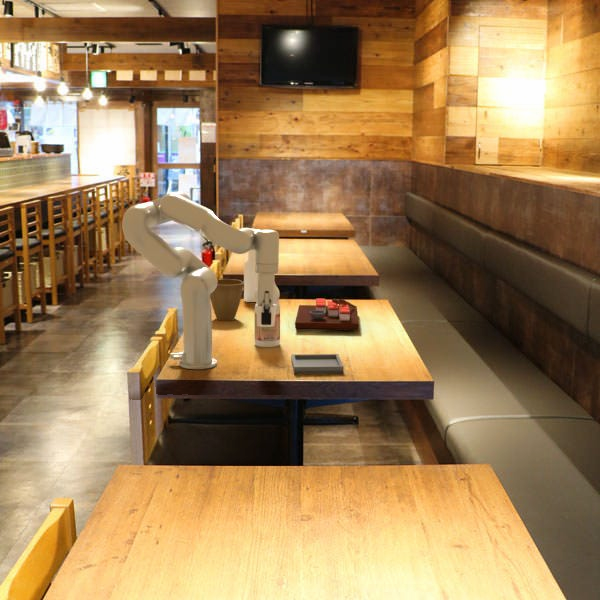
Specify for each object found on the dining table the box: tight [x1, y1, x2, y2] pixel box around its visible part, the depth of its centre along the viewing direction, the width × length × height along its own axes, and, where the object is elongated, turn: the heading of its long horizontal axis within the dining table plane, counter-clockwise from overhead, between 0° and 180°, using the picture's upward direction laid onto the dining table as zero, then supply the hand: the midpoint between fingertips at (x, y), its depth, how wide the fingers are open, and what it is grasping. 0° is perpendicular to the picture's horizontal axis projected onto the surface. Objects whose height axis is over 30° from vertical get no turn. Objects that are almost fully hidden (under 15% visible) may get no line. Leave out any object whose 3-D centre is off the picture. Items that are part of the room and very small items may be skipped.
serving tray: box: [290, 353, 345, 376], centre depth 277 cm, size 16×16×2 cm
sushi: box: [294, 298, 360, 331], centre depth 342 cm, size 25×35×12 cm
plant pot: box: [210, 278, 244, 322], centre depth 349 cm, size 15×15×16 cm
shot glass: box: [255, 303, 277, 327], centre depth 273 cm, size 7×7×7 cm
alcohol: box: [243, 250, 258, 303], centre depth 386 cm, size 9×9×30 cm
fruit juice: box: [253, 280, 281, 348], centre depth 305 cm, size 9×9×28 cm
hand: (265, 321), depth 273 cm, fingers closed on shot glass, 6 cm apart
